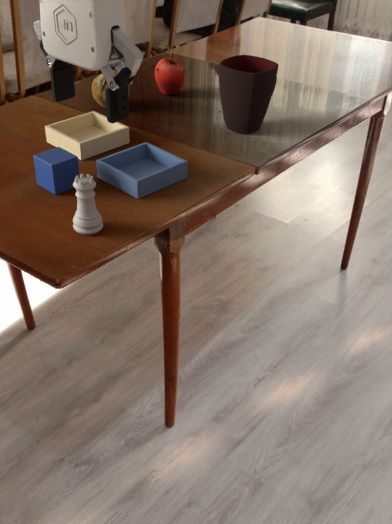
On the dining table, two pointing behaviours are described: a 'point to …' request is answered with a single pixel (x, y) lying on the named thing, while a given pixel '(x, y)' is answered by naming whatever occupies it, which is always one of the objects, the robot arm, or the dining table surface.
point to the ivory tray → (87, 135)
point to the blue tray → (141, 169)
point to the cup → (246, 91)
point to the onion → (101, 89)
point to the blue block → (56, 170)
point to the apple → (169, 74)
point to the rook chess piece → (86, 207)
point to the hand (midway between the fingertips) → (90, 109)
